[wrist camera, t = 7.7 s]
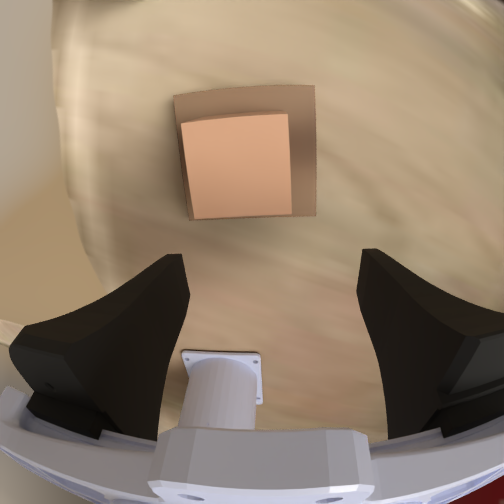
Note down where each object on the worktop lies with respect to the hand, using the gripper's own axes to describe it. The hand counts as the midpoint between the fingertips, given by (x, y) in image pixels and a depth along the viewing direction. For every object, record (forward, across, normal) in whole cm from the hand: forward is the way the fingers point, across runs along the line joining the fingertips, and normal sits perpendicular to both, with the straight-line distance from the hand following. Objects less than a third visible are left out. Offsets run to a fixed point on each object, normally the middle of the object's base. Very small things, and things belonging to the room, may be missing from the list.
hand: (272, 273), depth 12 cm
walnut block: (+10, +1, -3) cm, 11 cm away
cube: (+7, +1, -4) cm, 8 cm away
